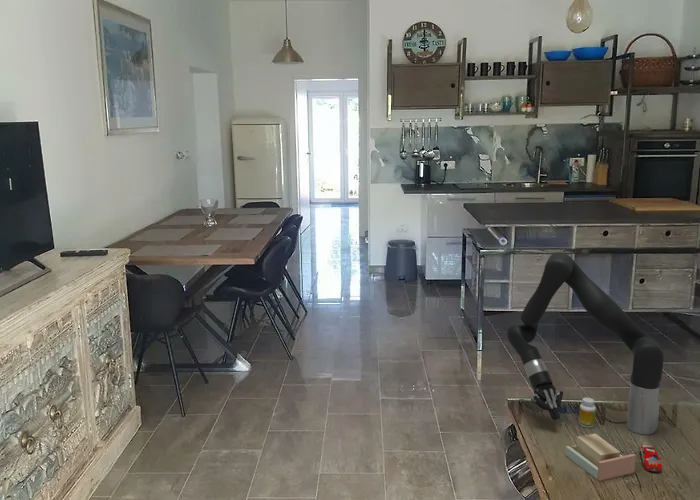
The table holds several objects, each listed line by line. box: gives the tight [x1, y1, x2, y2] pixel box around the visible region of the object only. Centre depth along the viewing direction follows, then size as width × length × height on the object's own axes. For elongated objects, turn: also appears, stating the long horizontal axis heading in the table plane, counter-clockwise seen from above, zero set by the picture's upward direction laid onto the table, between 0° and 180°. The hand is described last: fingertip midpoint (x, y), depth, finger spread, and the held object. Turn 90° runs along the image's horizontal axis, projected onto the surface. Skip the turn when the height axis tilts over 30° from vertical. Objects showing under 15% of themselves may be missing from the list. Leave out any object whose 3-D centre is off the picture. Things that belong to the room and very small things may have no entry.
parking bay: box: [564, 445, 637, 482], centre depth 192 cm, size 13×16×6 cm
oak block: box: [575, 433, 621, 467], centre depth 192 cm, size 7×12×7 cm, turn 15°
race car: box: [639, 444, 663, 473], centre depth 193 cm, size 13×5×4 cm, turn 161°
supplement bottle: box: [578, 397, 597, 429], centre depth 217 cm, size 5×5×10 cm
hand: (557, 419), depth 211 cm, fingers closed
